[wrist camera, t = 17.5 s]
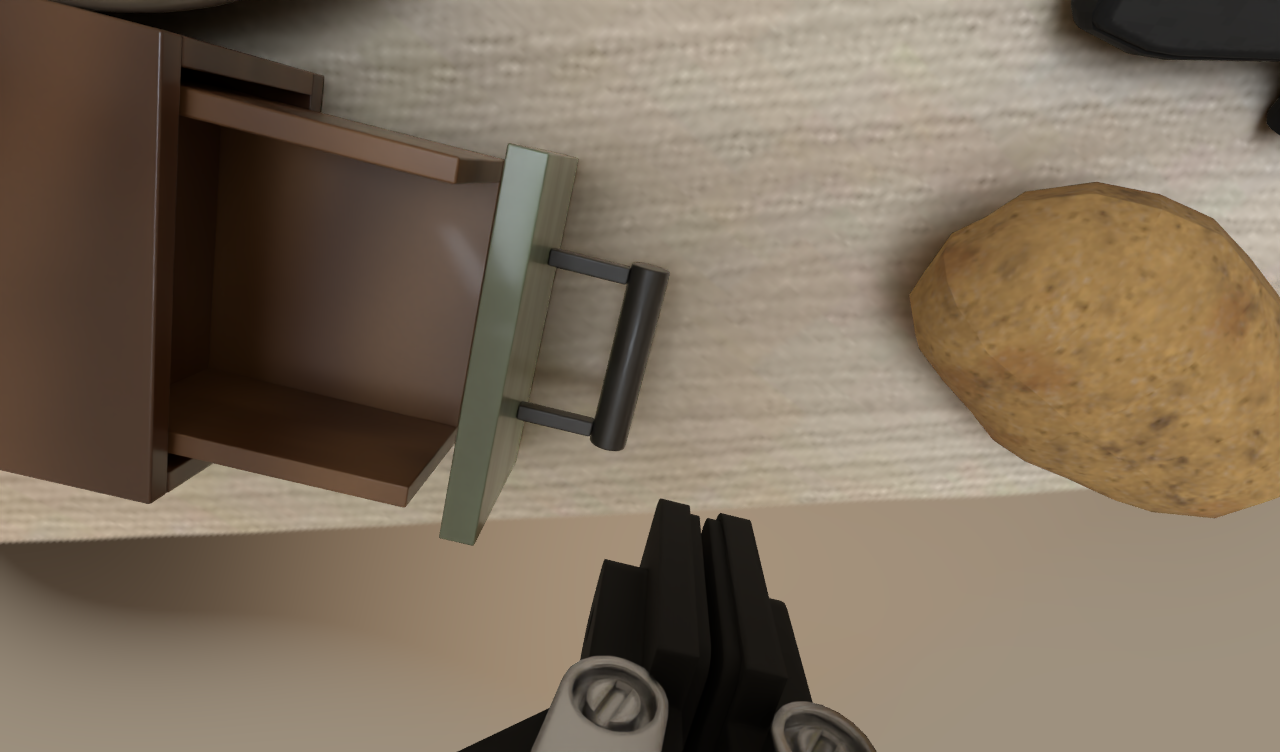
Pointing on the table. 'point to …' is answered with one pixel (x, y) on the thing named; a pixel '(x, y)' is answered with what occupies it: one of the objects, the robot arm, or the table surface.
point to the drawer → (374, 304)
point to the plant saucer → (142, 5)
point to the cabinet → (98, 238)
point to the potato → (1113, 346)
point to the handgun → (1188, 30)
